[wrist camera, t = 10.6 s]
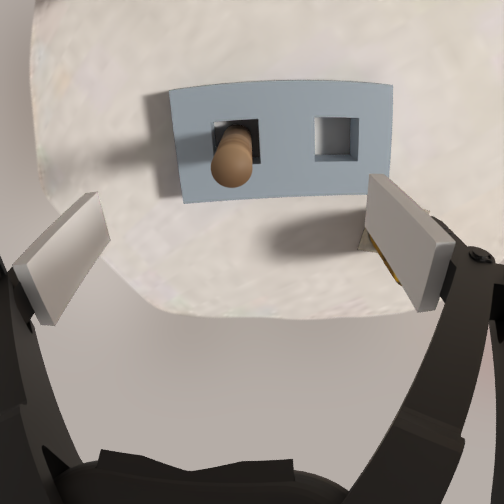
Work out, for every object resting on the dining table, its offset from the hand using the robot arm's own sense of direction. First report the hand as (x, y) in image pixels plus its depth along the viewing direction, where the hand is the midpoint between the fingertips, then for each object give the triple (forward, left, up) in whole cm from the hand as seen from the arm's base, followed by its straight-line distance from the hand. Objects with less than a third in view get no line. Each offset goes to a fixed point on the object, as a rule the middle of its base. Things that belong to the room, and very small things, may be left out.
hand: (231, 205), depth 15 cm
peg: (+1, -1, -21) cm, 21 cm away
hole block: (+1, +4, -21) cm, 21 cm away
